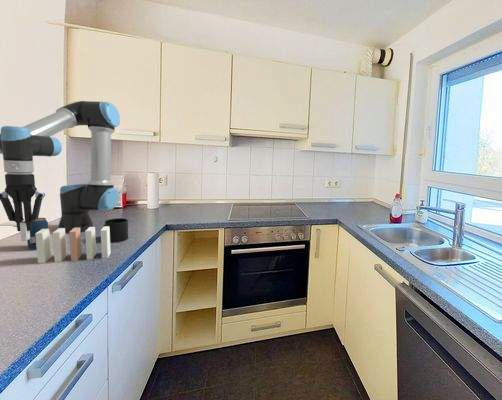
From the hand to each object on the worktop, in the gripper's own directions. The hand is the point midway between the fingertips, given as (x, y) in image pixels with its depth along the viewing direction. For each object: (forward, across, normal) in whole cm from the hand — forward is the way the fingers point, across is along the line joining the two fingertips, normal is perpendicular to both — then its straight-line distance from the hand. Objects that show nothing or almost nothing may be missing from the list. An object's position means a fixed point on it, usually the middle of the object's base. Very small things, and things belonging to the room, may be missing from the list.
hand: (25, 239), depth 91 cm
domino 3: (+8, +15, 0) cm, 17 cm away
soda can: (+8, -2, +15) cm, 17 cm away
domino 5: (+8, +25, 0) cm, 26 cm away
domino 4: (+8, +20, 0) cm, 22 cm away
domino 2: (+8, +10, 0) cm, 13 cm away
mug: (+8, +25, +21) cm, 34 cm away
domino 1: (+8, +5, 0) cm, 10 cm away
